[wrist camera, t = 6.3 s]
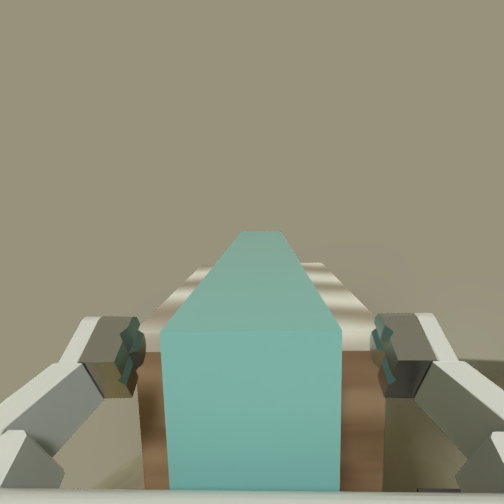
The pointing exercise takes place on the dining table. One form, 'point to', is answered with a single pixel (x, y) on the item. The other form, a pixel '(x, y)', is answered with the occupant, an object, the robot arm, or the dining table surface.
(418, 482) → the dining table surface
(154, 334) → the stand
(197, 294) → the long teal bar
